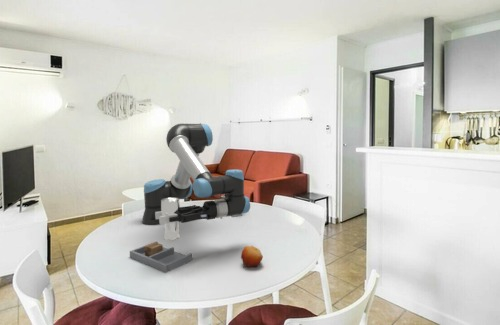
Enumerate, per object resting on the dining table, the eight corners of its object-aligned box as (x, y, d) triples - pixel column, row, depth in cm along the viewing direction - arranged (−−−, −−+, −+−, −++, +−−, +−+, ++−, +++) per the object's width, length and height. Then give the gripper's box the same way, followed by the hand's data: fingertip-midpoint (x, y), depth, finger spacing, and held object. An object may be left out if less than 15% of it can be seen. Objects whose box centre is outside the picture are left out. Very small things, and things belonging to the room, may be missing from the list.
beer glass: (164, 242, 107) (162, 202, 106) (161, 236, 113) (159, 198, 112) (183, 238, 110) (181, 200, 109) (178, 233, 117) (177, 196, 115)
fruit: (235, 257, 112) (246, 239, 112) (253, 266, 113) (263, 249, 113) (236, 267, 104) (247, 248, 104) (255, 276, 105) (266, 258, 105)
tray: (130, 258, 116) (129, 251, 116) (159, 247, 128) (159, 240, 127) (166, 274, 103) (165, 265, 103) (195, 259, 114) (195, 252, 114)
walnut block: (145, 255, 118) (144, 245, 118) (155, 251, 122) (154, 242, 122) (152, 258, 115) (151, 248, 115) (162, 253, 119) (162, 244, 119)
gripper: (224, 224, 112) (163, 235, 100) (206, 212, 129) (152, 221, 117) (224, 205, 111) (162, 214, 100) (205, 196, 128) (151, 203, 117)
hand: (157, 218), depth 109 cm, fingers closed on beer glass, 7 cm apart
